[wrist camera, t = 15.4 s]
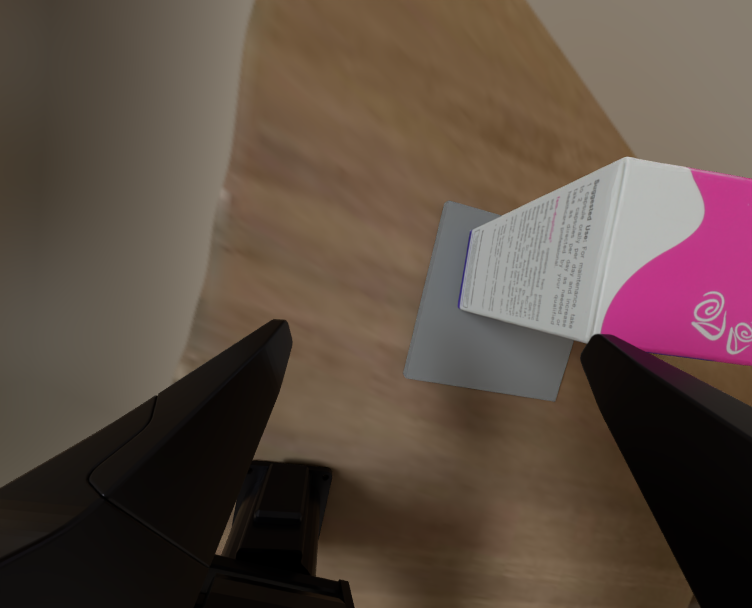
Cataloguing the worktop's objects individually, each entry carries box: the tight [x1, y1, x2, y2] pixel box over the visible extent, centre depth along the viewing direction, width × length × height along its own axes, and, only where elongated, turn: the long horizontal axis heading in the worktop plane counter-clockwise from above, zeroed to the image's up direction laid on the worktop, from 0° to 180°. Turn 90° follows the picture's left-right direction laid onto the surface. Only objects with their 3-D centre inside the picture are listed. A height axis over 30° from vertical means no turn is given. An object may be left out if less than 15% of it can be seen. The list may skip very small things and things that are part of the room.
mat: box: [403, 201, 574, 402], centre depth 21 cm, size 13×13×1 cm
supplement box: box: [458, 157, 752, 366], centre depth 14 cm, size 6×6×11 cm
